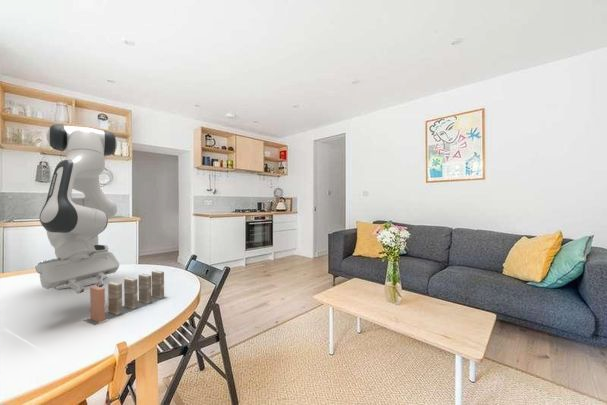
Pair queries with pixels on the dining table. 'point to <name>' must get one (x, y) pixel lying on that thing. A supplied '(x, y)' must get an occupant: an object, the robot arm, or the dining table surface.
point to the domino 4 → (158, 284)
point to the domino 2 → (130, 293)
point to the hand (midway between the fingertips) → (91, 289)
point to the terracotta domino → (97, 303)
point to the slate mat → (124, 311)
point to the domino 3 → (145, 288)
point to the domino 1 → (115, 298)
